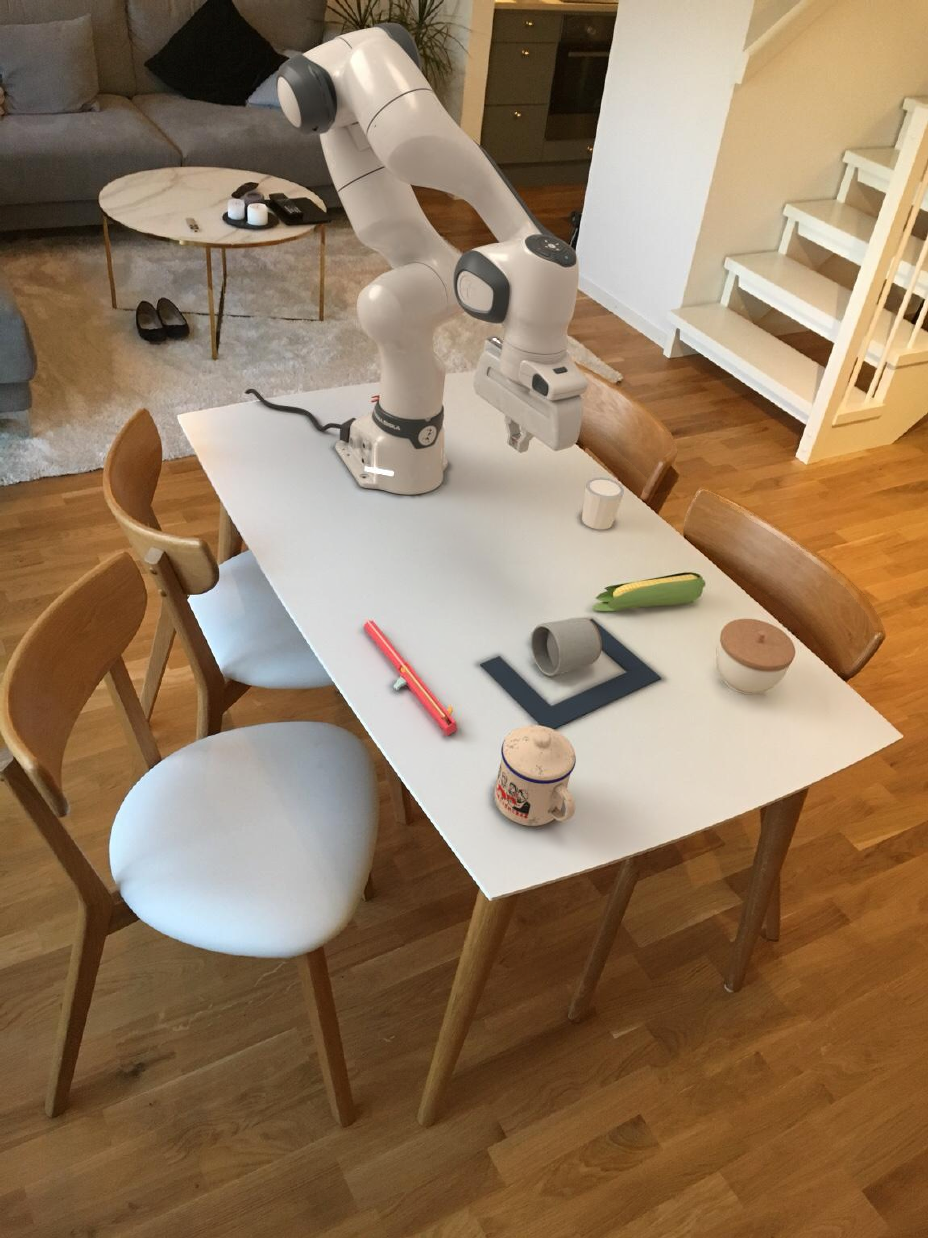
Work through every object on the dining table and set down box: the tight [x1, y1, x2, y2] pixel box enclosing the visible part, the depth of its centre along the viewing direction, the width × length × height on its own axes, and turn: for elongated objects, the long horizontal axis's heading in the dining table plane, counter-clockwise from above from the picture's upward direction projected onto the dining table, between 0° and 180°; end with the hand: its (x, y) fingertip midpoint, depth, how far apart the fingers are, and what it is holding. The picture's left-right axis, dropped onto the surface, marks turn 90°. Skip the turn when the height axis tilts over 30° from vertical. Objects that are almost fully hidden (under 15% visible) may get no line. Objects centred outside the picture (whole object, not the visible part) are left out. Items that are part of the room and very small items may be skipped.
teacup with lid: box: [494, 724, 577, 827], centre depth 122 cm, size 12×9×12 cm
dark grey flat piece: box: [479, 618, 662, 730], centre depth 146 cm, size 16×22×1 cm
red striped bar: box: [363, 618, 458, 737], centre depth 140 cm, size 24×2×5 cm
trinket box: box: [715, 618, 796, 696], centre depth 146 cm, size 11×11×9 cm
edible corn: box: [591, 571, 706, 612], centre depth 160 cm, size 5×20×5 cm, turn 110°
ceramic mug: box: [530, 617, 602, 677], centre depth 146 cm, size 11×8×8 cm
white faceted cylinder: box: [581, 477, 625, 530], centre depth 177 cm, size 7×7×7 cm
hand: (517, 447), depth 147 cm, fingers closed
